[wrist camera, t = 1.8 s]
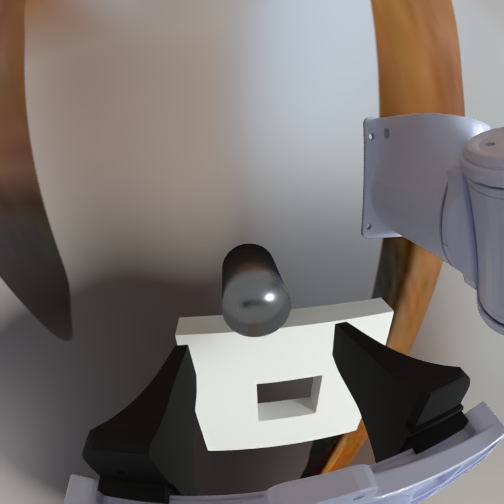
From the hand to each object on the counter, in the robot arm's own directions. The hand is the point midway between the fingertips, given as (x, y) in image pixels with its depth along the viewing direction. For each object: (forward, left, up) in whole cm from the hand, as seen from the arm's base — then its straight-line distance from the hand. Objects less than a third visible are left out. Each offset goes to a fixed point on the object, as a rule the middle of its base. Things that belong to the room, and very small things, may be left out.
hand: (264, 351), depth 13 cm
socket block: (+13, +3, -9) cm, 16 cm away
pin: (0, 0, -10) cm, 10 cm away
